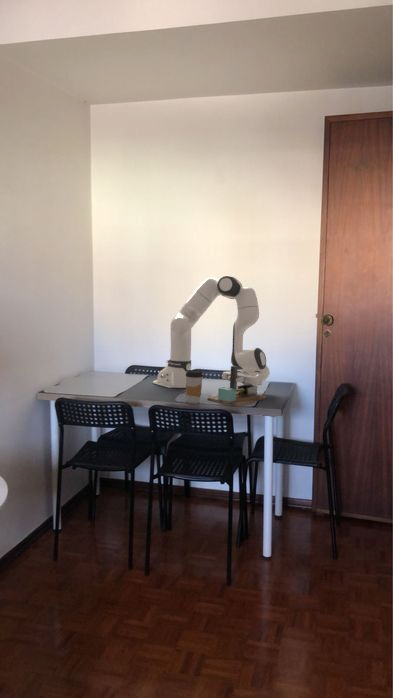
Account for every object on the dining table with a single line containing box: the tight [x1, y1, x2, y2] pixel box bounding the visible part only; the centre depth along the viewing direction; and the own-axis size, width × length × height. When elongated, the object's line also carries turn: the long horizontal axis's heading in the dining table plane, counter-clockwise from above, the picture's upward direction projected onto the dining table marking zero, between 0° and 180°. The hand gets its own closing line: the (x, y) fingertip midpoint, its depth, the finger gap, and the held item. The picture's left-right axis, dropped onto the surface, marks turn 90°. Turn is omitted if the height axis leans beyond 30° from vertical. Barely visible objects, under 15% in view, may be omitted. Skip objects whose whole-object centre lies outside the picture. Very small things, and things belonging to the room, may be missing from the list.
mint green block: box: [217, 386, 236, 402], centre depth 284 cm, size 7×5×6 cm
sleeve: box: [237, 384, 258, 397], centre depth 298 cm, size 6×9×4 cm
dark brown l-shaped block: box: [229, 365, 245, 396], centre depth 289 cm, size 3×14×15 cm, turn 142°
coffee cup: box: [185, 369, 204, 404], centre depth 281 cm, size 8×8×15 cm
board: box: [207, 394, 267, 407], centre depth 292 cm, size 18×26×1 cm
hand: (232, 379), depth 287 cm, fingers closed on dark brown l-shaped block, 2 cm apart
